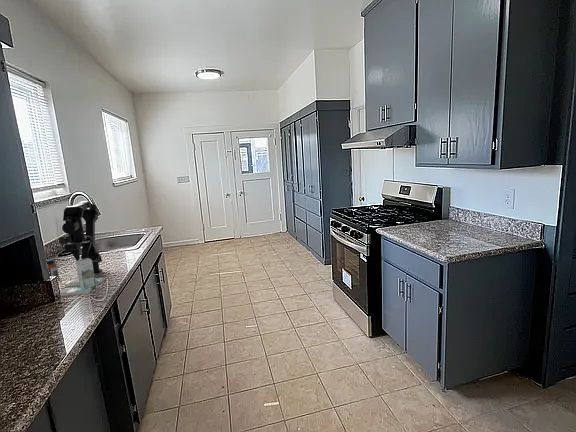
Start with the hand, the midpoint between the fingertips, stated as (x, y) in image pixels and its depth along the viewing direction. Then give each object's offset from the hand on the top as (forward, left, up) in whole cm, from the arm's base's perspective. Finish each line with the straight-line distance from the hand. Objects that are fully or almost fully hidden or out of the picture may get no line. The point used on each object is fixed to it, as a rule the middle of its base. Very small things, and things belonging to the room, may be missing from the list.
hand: (82, 258), depth 177 cm
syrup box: (+10, +5, -13) cm, 17 cm away
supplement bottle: (-9, -22, -13) cm, 27 cm away
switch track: (+10, +1, -13) cm, 16 cm away
